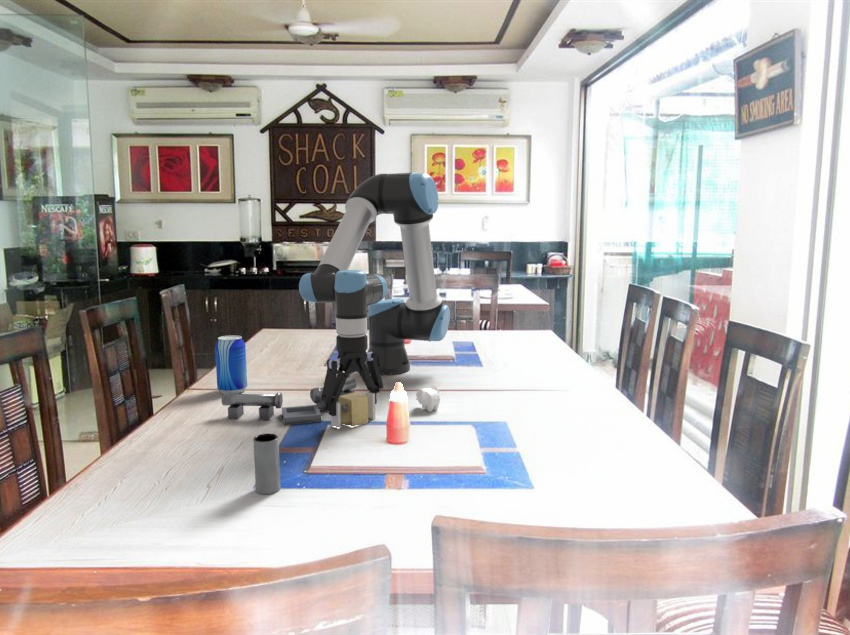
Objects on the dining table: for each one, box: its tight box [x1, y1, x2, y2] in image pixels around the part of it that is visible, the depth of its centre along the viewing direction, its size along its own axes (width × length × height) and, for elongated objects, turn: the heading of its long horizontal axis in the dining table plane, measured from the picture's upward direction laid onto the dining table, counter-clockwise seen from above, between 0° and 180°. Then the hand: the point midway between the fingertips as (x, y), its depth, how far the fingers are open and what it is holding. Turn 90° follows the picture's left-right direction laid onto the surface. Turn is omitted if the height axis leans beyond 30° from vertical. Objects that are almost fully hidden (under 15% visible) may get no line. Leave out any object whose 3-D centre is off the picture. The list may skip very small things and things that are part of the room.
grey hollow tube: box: [252, 432, 281, 495], centre depth 123 cm, size 4×4×10 cm
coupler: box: [339, 392, 369, 426], centre depth 161 cm, size 6×5×7 cm
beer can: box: [214, 334, 248, 395], centre depth 190 cm, size 8×8×16 cm
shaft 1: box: [220, 392, 284, 421], centre depth 166 cm, size 15×4×6 cm, turn 86°
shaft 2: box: [309, 377, 358, 412], centre depth 176 cm, size 15×4×6 cm, turn 146°
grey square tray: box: [281, 404, 322, 426], centre depth 166 cm, size 9×9×2 cm
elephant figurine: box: [415, 384, 441, 412], centre depth 172 cm, size 7×8×6 cm
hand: (353, 422), depth 161 cm, fingers open, 10 cm apart
